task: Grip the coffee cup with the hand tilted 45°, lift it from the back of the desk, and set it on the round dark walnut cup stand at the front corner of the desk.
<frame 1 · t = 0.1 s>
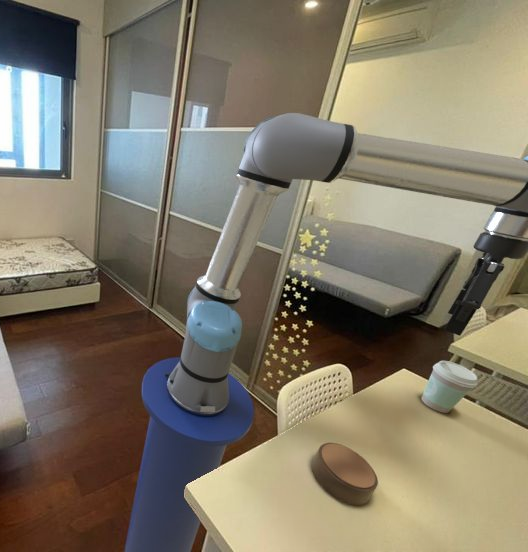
hand: (453, 323, 74), 26 cm above the table, tool pointing down, fingers open, 13 cm apart
coffee cup: (434, 405, 87), on the table
cup stand: (339, 478, 63), on the table
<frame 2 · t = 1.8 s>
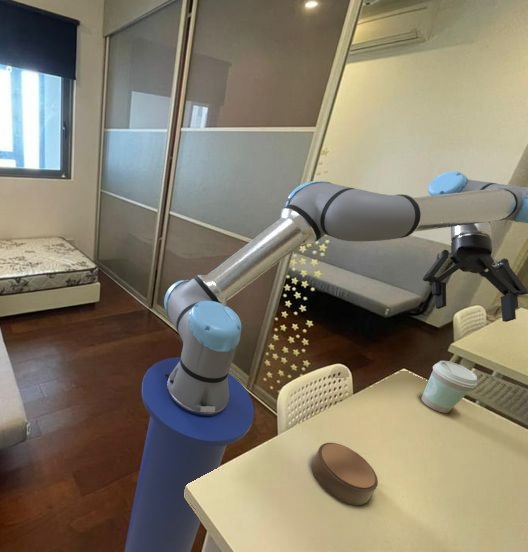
hand: (474, 313, 80), 27 cm above the table, tool tilted 45°, fingers open, 13 cm apart
nothing on the table moved.
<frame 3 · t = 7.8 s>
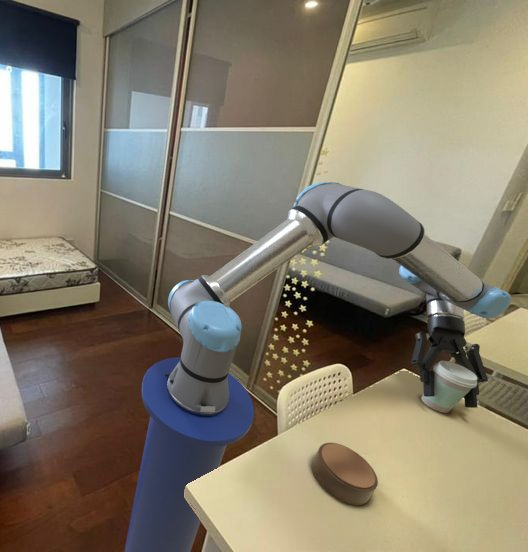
hand: (449, 401, 82), 4 cm above the table, tool tilted 45°, fingers closed on coffee cup, 8 cm apart
coffee cup: (434, 405, 87), on the table, touching gripper
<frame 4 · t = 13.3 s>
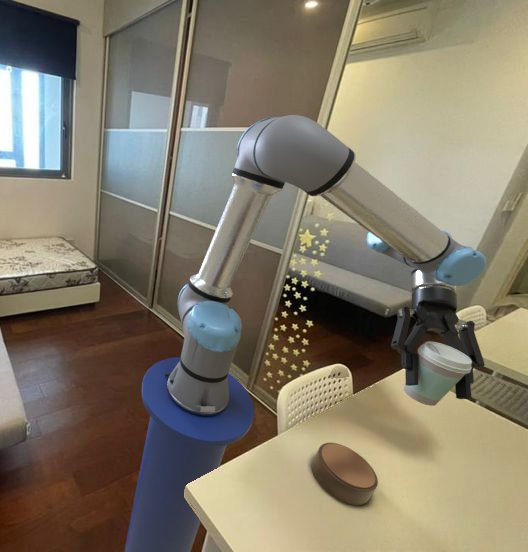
hand: (437, 391, 66), 16 cm above the table, tool tilted 45°, fingers closed on coffee cup, 8 cm apart
coffee cup: (418, 396, 71), point 12 cm above the table, touching gripper
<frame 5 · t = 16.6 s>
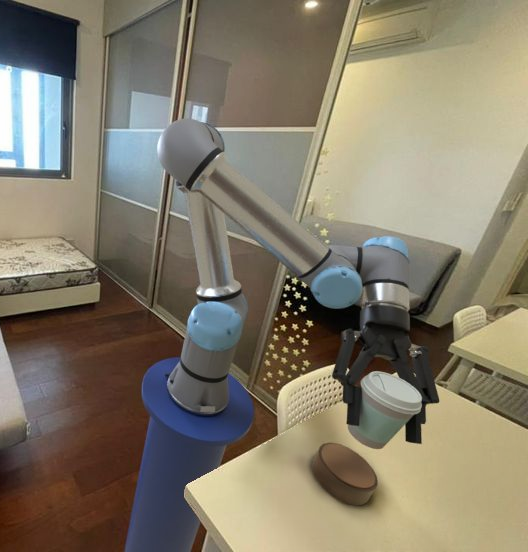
hand: (382, 433, 55), 16 cm above the table, tool tilted 45°, fingers closed on coffee cup, 8 cm apart
coffee cup: (364, 436, 59), point 11 cm above the table, touching gripper
when the fingers open (9 cm above the table, at t = 19.2 s): coffee cup stays where it is, resting on cup stand.
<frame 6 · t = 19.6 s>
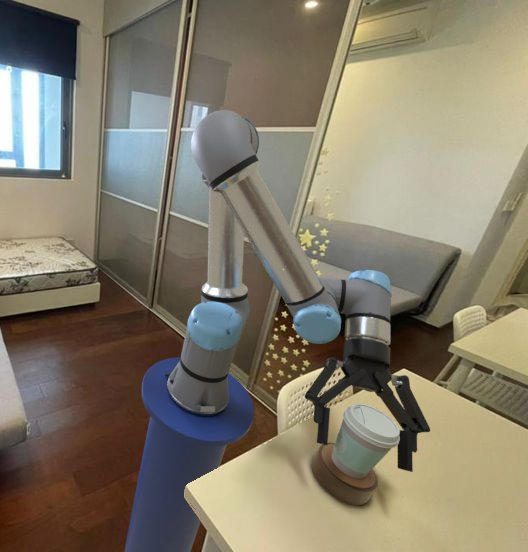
hand: (362, 456, 58), 9 cm above the table, tool tilted 45°, fingers open, 13 cm apart
coffee cup: (347, 464, 62), point 4 cm above the table, touching cup stand
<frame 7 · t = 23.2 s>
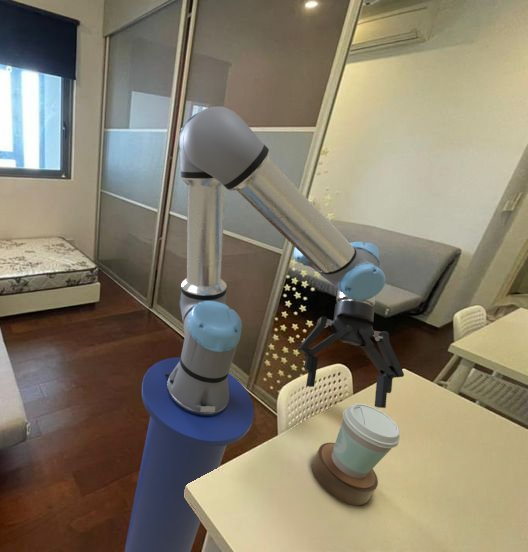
hand: (344, 396, 69), 11 cm above the table, tool tilted 40°, fingers open, 13 cm apart
nothing on the table moved.
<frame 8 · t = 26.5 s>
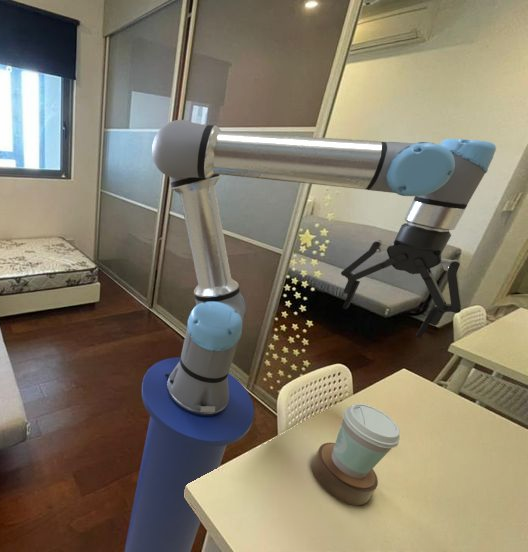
hand: (379, 320, 70), 27 cm above the table, tool pointing down, fingers open, 13 cm apart
nothing on the table moved.
at the end: coffee cup 0.1 cm off-centre on the cup stand, point 4.1 cm above the cup stand's base; coffee cup tilted 0°; the gripper is holding nothing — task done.
